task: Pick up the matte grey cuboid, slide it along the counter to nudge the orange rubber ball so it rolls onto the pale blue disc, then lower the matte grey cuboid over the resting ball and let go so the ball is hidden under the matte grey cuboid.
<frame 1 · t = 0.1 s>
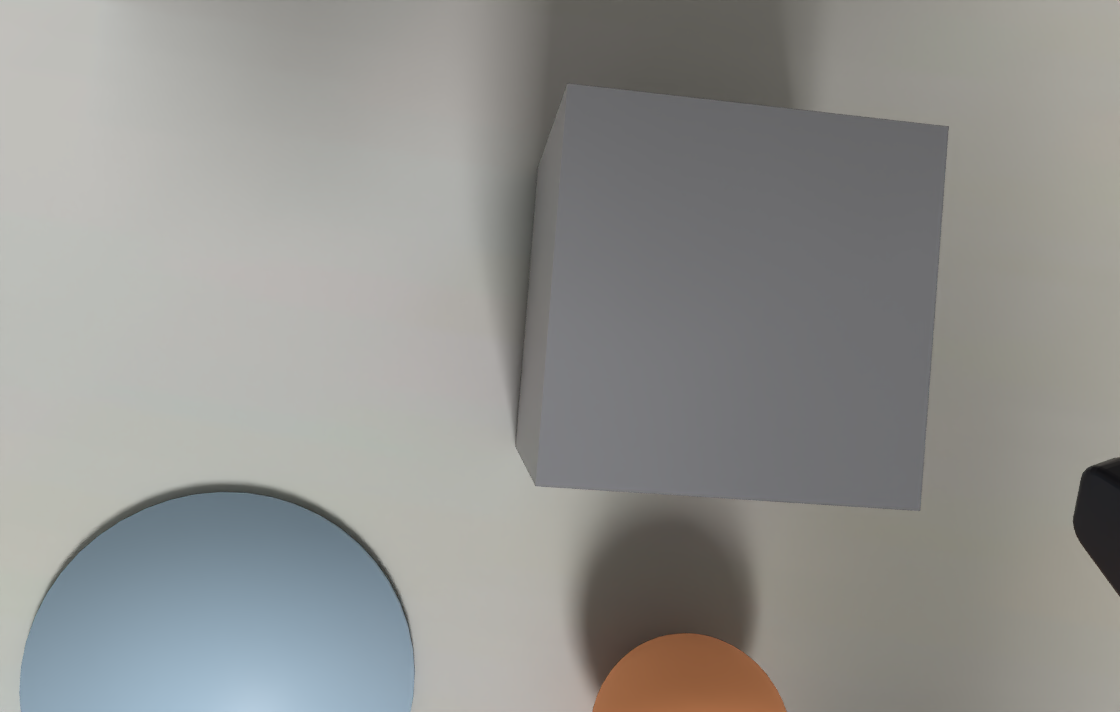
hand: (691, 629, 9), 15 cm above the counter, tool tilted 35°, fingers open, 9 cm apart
matte grey cuboid: (663, 318, 24), on the counter
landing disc: (223, 680, 23), on the counter
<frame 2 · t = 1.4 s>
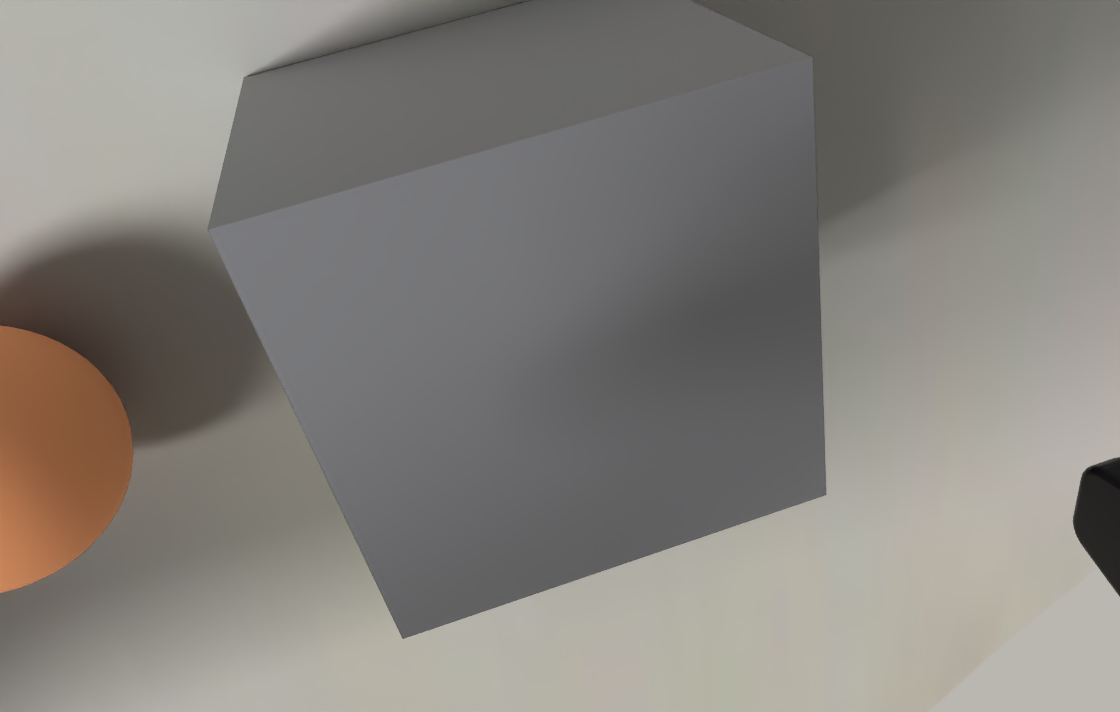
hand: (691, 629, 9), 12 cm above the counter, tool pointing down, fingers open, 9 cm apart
matte grey cuboid: (490, 205, 19), on the counter
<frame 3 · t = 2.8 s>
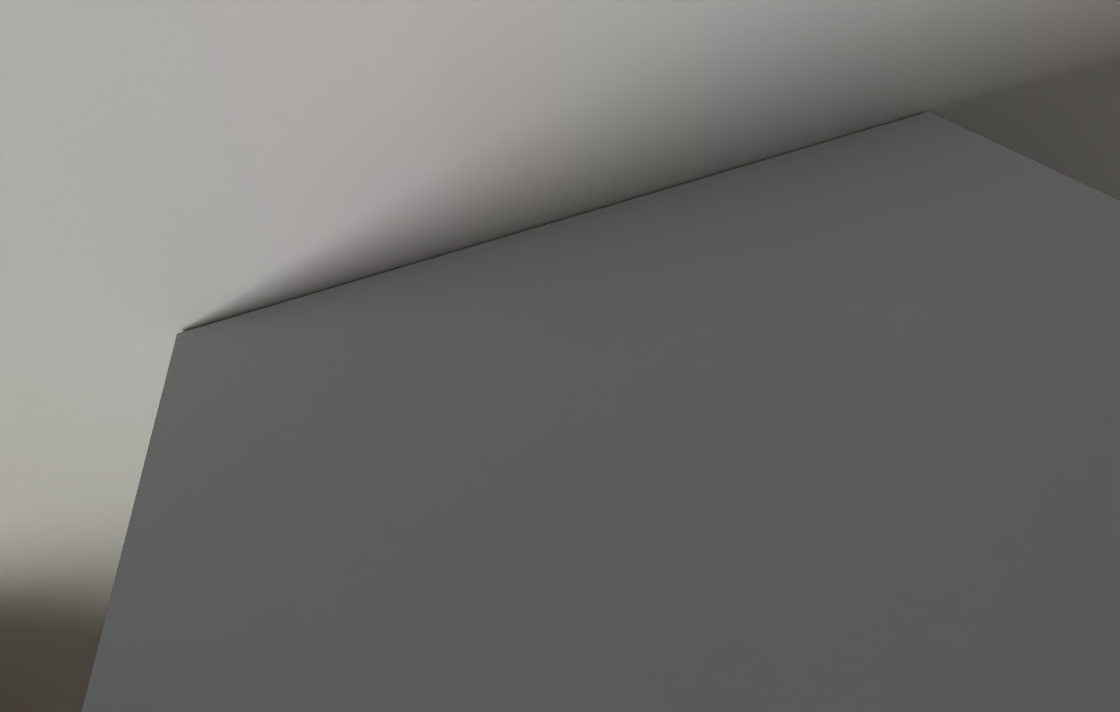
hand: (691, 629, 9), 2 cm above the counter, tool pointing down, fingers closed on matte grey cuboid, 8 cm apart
matte grey cuboid: (628, 499, 11), on the counter, touching gripper
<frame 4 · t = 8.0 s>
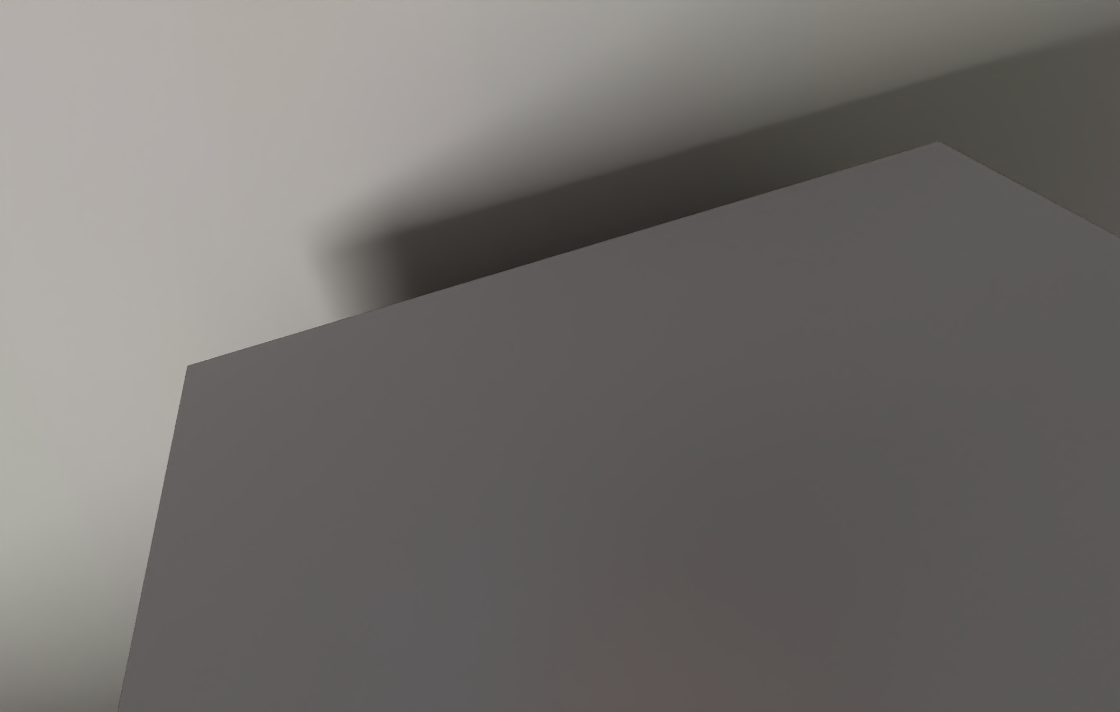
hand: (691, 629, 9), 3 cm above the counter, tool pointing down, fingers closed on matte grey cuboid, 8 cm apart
matte grey cuboid: (635, 520, 11), point 2 cm above the counter, touching gripper
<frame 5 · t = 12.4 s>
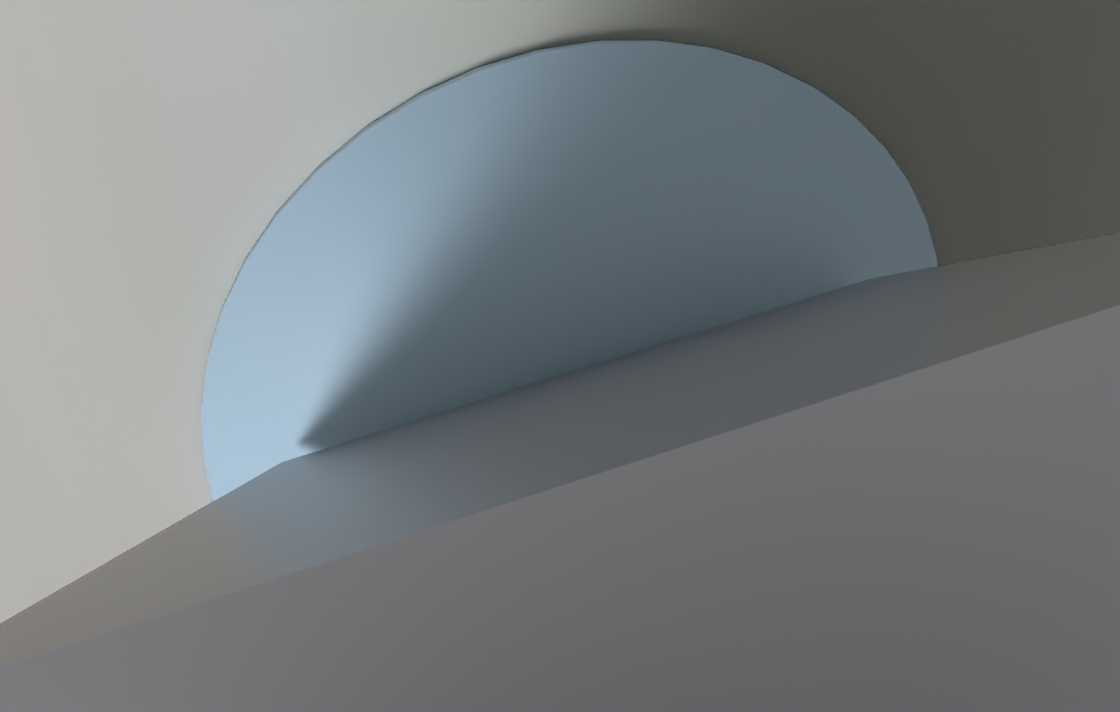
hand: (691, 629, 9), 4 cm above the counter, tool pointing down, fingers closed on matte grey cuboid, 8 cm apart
matte grey cuboid: (676, 660, 11), point 2 cm above the counter, tilted 32°, touching ball, gripper
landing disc: (597, 422, 12), on the counter
when the fingers open (3 cm above the counter, at t = 13.3 s): matte grey cuboid drops 2 cm, on the counter.
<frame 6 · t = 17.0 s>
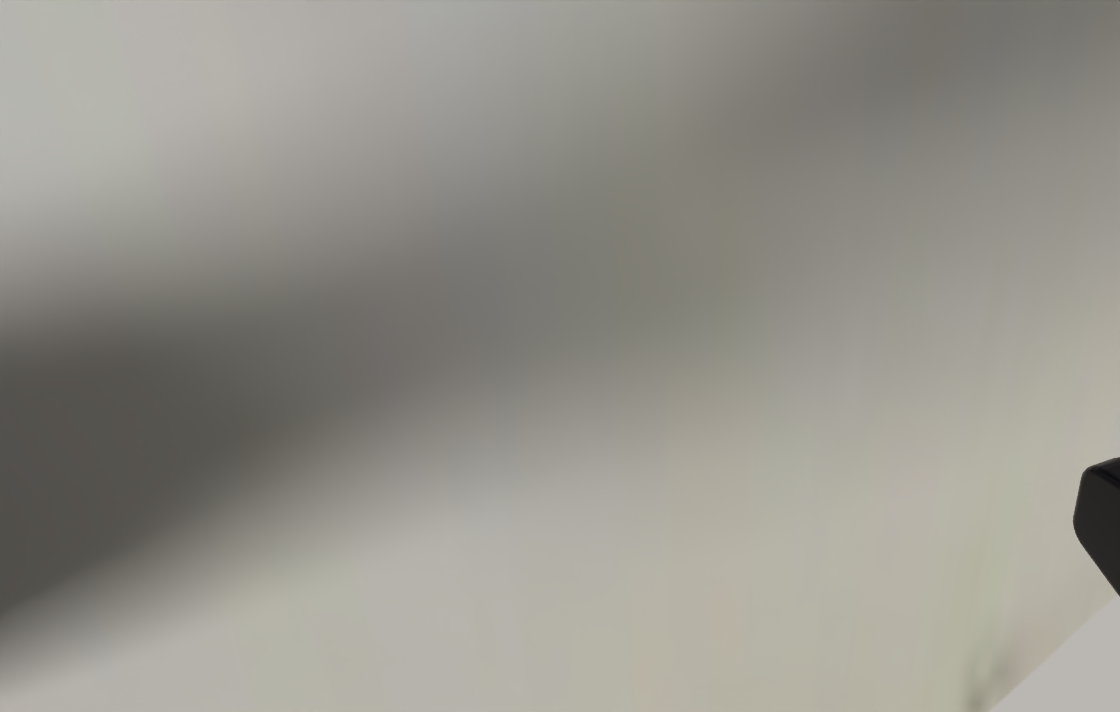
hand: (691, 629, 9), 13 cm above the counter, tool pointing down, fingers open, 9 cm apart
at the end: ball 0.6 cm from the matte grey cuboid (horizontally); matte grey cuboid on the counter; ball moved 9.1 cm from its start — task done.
